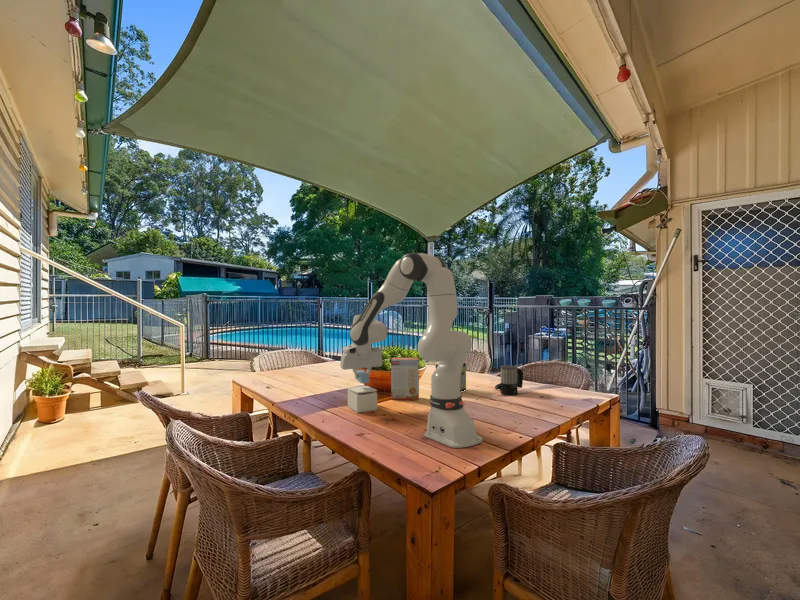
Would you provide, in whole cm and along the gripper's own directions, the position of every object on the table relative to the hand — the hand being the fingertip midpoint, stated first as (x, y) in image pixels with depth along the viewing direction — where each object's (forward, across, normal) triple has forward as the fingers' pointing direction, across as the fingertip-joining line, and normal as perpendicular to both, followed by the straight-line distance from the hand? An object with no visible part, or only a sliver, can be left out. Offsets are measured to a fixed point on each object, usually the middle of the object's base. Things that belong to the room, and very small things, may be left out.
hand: (361, 377), depth 178 cm
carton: (+15, 0, 0) cm, 15 cm away
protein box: (+15, -55, -5) cm, 57 cm away
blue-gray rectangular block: (+2, 0, 0) cm, 2 cm away
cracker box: (+15, -26, -5) cm, 30 cm away
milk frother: (+15, -81, +10) cm, 83 cm away
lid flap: (+6, 0, 0) cm, 6 cm away
